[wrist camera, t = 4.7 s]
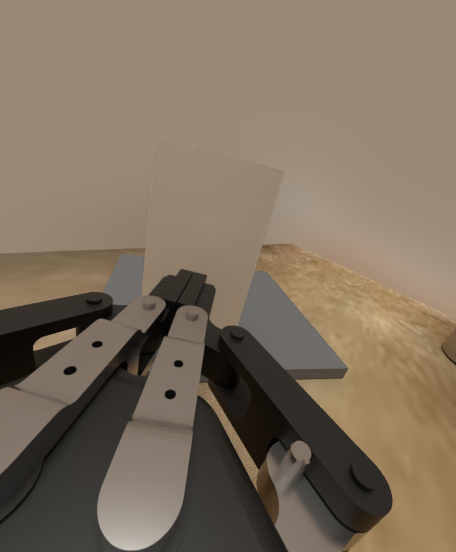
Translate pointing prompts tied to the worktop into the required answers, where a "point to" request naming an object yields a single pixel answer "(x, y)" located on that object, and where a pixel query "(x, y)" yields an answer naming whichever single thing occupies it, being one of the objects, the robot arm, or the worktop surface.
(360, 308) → the worktop surface
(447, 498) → the worktop surface
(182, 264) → the tile
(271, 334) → the mat
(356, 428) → the worktop surface
